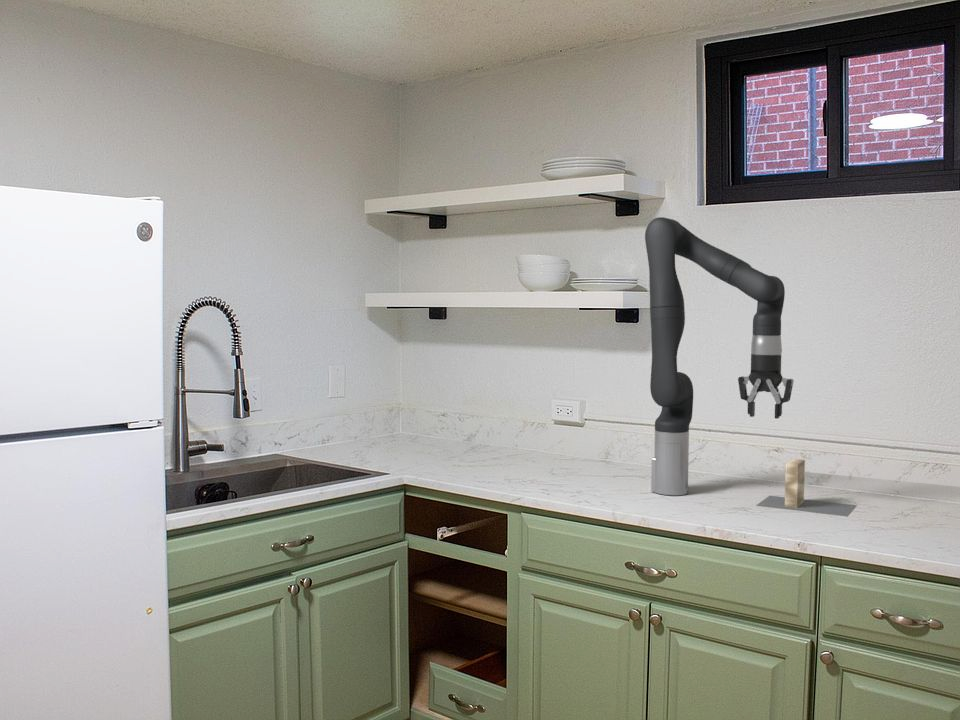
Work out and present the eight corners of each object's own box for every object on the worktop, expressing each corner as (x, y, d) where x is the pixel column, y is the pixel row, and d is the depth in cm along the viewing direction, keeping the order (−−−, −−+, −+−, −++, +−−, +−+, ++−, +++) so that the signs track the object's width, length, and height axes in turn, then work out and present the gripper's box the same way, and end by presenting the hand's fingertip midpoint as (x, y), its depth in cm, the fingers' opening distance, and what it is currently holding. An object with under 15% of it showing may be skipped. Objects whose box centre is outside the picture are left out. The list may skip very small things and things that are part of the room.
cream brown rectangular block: (784, 506, 231) (785, 463, 230) (791, 500, 238) (792, 458, 237) (796, 507, 230) (798, 464, 229) (803, 501, 236) (804, 459, 236)
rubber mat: (755, 507, 232) (755, 505, 232) (769, 497, 244) (769, 495, 244) (847, 518, 221) (847, 516, 220) (856, 507, 232) (856, 505, 232)
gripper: (734, 352, 236) (732, 417, 237) (791, 354, 228) (789, 421, 230) (742, 351, 242) (740, 414, 243) (798, 353, 235) (796, 417, 236)
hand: (764, 417), depth 236 cm, fingers open, 5 cm apart
